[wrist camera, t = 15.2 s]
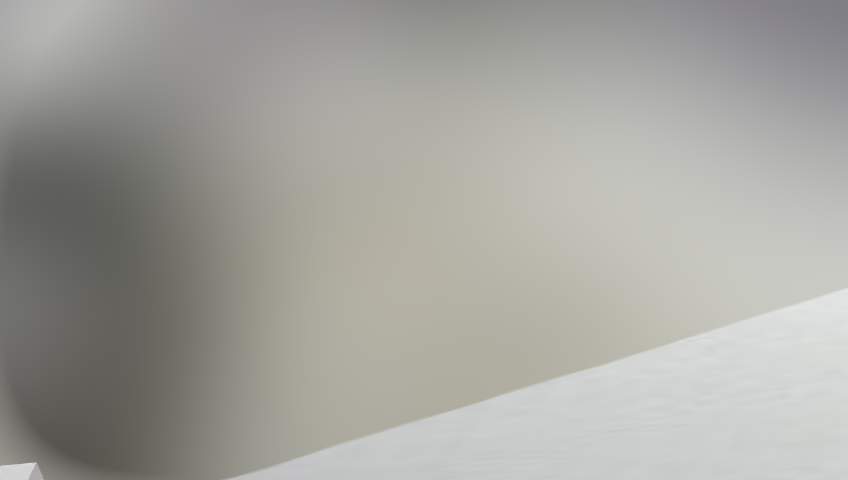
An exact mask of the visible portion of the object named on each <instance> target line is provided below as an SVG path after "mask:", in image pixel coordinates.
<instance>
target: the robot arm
mask: <svg viewBox="0 0 848 480" xmlns="http://www.w3.org/2000/svg"><path fill="white" fill-rule="evenodd" d="M0 480H44V479H43V477H42V474H41V472H40V470H39V468H38V465H37V463H27V464H16V465H5V466H0Z"/></svg>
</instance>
